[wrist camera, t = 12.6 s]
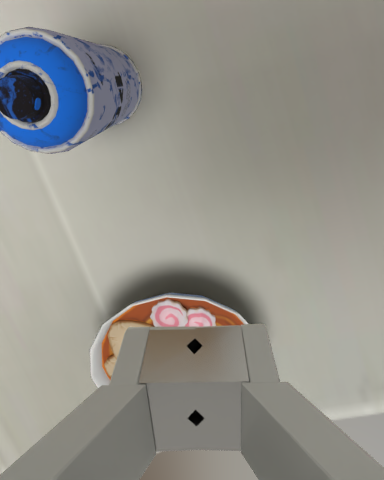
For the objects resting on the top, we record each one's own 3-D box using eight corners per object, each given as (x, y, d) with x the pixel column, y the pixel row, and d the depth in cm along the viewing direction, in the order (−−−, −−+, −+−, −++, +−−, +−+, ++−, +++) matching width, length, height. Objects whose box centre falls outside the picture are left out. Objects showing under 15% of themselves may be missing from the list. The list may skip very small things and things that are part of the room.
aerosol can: (132, 134, 39) (72, 186, 21) (62, 112, 38) (-63, 146, 20) (149, 59, 36) (96, 43, 18) (73, 33, 35) (-63, -11, 17)
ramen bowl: (267, 255, 45) (280, 290, 38) (270, 384, 55) (281, 433, 47) (78, 271, 47) (55, 308, 40) (113, 394, 57) (100, 442, 49)
